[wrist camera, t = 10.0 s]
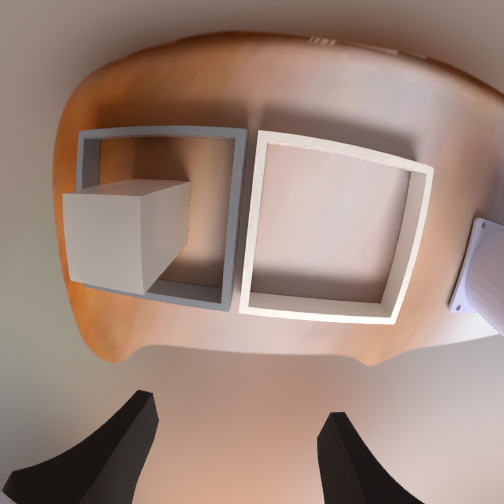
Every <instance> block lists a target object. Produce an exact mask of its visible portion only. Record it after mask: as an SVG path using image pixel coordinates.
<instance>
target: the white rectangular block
mask: <svg viewBox="0 0 504 504" xmlns="http://www.w3.org/2000/svg"><path fill="white" fill-rule="evenodd" d="M189 196H190V181H175V180H154V179H128V180H123V181H117V182H112V183H107V184H102V185H98V186H93V187H88V188H84V189H80V190H75V191H71V192H67V193H63V219H64V233H65V244H66V253H67V261H68V268H69V275H70V280H71V281H76V282H80V283H85V284H89V285H94V286H99V287H104V288H109V289H114V290H119V291H124V292H129V293H135V294H140V295H144V294H145V293H146V292H147V290H148V289H149V288H150V287H151V286H152V284H153V283H154V282H155V281H156V280H157V279H158V277H159V276H160V275H161V274H162V273H163V272H164V270H165V269H166V268H167V267H168V266H169V265H170V264H171V262H172V261H173V260H174V259H175V258H176V257H177V256H178V254H179V253H180V252H181V251H182V250H183V249H184V248H185V247H186V245H187V236H188V213H189Z"/></svg>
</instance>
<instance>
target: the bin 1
mask: <svg viewBox="0 0 504 504" xmlns="http://www.w3.org/2000/svg"><path fill="white" fill-rule="evenodd" d="M137 137H185V138H209V139H225V140H236V141H235V150H234V159H233V169H232V179H231V189H230V200H229V211H228V222H227V234H226V246H225V259H224V272H223V286H222V288H215V287H207V286H200V285H193V284H186V283H179V282H172V281H165V280H158V279H157V280H156V281H155V282H154V283H153V284H152V286H151V287H150V288H149V289H148V290H147V292H146V293H145V294H144V295H140V294H135V293H129V292H124V291H119V290H114V289H109V288H104V287H99V286H94V285H89V284H85V283H83V285H84V287H89V288H93V289H98V290H103V291H107V292H112V293H117V294H122V295H127V296H132V297H138V298H143V299H148V300H154V301H160V302H166V303H172V304H178V305H184V306H191V307H197V308H204V309H211V310H219V311H226V312H229V310H230V306H231V301H232V297H233V286H234V275H235V264H236V254H237V243H238V233H239V222H240V212H241V202H242V193H243V183H244V174H245V164H246V155H247V146H248V137H249V132H248V130H247V129H241V128H228V127H210V126H134V127H117V128H104V129H94V130H85V131H79V136H78V149H77V168H76V190H80V189H84V188H88V187H93V186H98V184H99V158H100V144H101V139H113V138H137Z"/></svg>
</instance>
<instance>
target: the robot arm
mask: <svg viewBox="0 0 504 504" xmlns="http://www.w3.org/2000/svg"><path fill="white" fill-rule="evenodd" d="M482 224H483V226H482ZM457 306H458V307H457ZM448 310H449V311H450V312H451V313H479V314H480V315H481V316H482V317H483V318H484V319H485V320H486V321H487V322H488V323H489V324H490V325H492V326H493V327H494V328H495V329H496V330H497V331H498V332H499V333H500V334H501V335H502V336H503V337H504V226H503V225H500V224H497V223H494V222H491V221H488V220H485V219H482V218H479V217H477V218H476V219H475V220H474V224H473V228H472V233H471V237H470V241H469V245H468V249H467V252H466V256H465V259H464V263H463V266H462V269H461V273H460V276H459V279H458V282H457V285H456V288H455V290H454V293H453V296H452V299H451V301H450V304H449V307H448ZM158 422H159V419H158V415H157V411H156V406H155V402H154V397H153V393H150V392H146V391H142V390H138V391H136V393H135V394H134V395H133V396H132V397H131V398H130V399H129V400H128V401H127V402H126V403H125V404H124V405H123V406H122V407H121V409H119V410H118V411H117V412H116V413H115V414H114V415H113V416H112V417H111V418H110V419H109V420H108V421H107V422H106V423H105V424H103V425H102V426H101V427H100V428H99V429H97V430H96V431H95V432H94V433H93V434H91V435H90V436H89V437H87V438H86V439H85V440H83V441H82V442H80V443H79V444H77V445H76V446H74V447H73V448H71V449H69V450H67V451H66V452H64V453H62V454H60V455H58V456H56V457H54V458H52V459H50V460H47V461H45V462H42V463H40V464H37V465H34V466H31V467H28V468H24V469H20V470H17V471H13V472H12V473H11V475H10V476H9V478H8V480H7V482H6V484H5V486H4V488H3V492H4V493H5V494H6V495H7V496H8V497H9V498H10V499H12V500H13V501H14V502H13V501H12V500H10V499H9V498H8V497H7V496H5V495H4V494H3V493H1V492H0V504H16V503H17V504H132V500H133V495H134V491H135V487H136V484H137V481H138V478H139V476H140V473H141V470H142V468H143V466H144V463H145V461H146V458H147V456H148V453H149V451H150V448H151V446H152V443H153V441H154V437H155V434H156V430H157V426H158ZM317 450H318V463H319V469H320V474H321V481H322V487H323V493H324V501H325V504H424V503H423V502H421V501H420V500H418V499H417V498H415V497H414V496H413V495H411V494H410V493H409V492H408V491H406V490H405V489H404V488H403V487H402V486H401V485H400V484H398V483H397V482H396V481H395V480H394V479H393V478H392V477H391V476H390V475H389V474H388V472H387V471H386V470H385V469H384V468H383V467H382V466H381V464H380V463H379V462H378V461H377V459H376V458H375V457H374V456H373V454H372V453H371V452H370V450H369V449H368V447H367V446H366V445H365V443H364V442H363V440H362V439H361V437H360V436H359V434H358V433H357V431H356V429H355V428H354V426H353V425H352V423H351V422H350V420H349V418H348V417H347V415H346V413H345V412H333V413H330V415H329V417H328V418H327V420H326V422H325V424H324V426H323V428H322V430H321V432H320V434H319V436H318V437H317Z"/></svg>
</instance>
